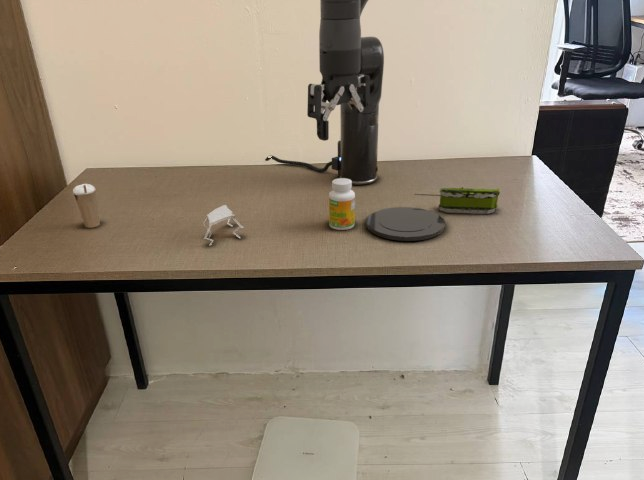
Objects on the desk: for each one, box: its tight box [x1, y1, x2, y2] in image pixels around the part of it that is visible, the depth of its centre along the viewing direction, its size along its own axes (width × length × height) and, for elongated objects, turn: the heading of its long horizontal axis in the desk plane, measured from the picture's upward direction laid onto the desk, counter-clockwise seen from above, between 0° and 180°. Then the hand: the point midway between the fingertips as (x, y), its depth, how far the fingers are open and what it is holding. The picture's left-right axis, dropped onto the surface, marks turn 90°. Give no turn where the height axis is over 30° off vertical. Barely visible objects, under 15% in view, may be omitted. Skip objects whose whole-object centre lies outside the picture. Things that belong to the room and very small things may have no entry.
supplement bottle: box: [328, 177, 356, 231], centre depth 118 cm, size 5×5×10 cm
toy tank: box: [413, 187, 501, 215], centre depth 125 cm, size 7×19×10 cm
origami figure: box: [202, 204, 245, 246], centre depth 117 cm, size 12×8×5 cm
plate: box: [366, 206, 446, 242], centre depth 118 cm, size 16×16×1 cm
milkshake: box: [72, 183, 101, 229], centre depth 123 cm, size 5×5×10 cm
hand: (339, 135), depth 112 cm, fingers open, 8 cm apart
